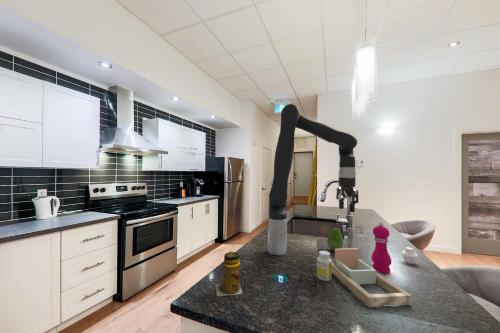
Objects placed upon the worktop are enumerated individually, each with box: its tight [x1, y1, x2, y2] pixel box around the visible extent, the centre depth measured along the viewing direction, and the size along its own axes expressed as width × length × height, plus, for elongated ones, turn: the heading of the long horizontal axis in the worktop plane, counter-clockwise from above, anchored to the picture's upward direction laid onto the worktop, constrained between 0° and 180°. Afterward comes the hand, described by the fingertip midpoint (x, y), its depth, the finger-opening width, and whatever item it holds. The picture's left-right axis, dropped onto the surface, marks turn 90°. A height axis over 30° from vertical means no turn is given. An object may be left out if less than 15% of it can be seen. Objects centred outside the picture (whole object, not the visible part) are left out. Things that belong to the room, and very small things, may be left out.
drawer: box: [334, 247, 377, 285], centre depth 81 cm, size 10×11×9 cm
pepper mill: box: [370, 222, 393, 275], centre depth 87 cm, size 7×7×20 cm
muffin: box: [401, 246, 419, 265], centre depth 95 cm, size 6×6×7 cm
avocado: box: [326, 227, 344, 252], centre depth 109 cm, size 8×8×12 cm
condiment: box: [215, 251, 243, 298], centre depth 72 cm, size 7×8×12 cm
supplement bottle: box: [316, 250, 333, 282], centre depth 80 cm, size 5×5×10 cm
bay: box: [332, 262, 412, 307], centre depth 76 cm, size 14×25×3 cm, turn 6°
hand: (346, 210), depth 100 cm, fingers open, 8 cm apart
